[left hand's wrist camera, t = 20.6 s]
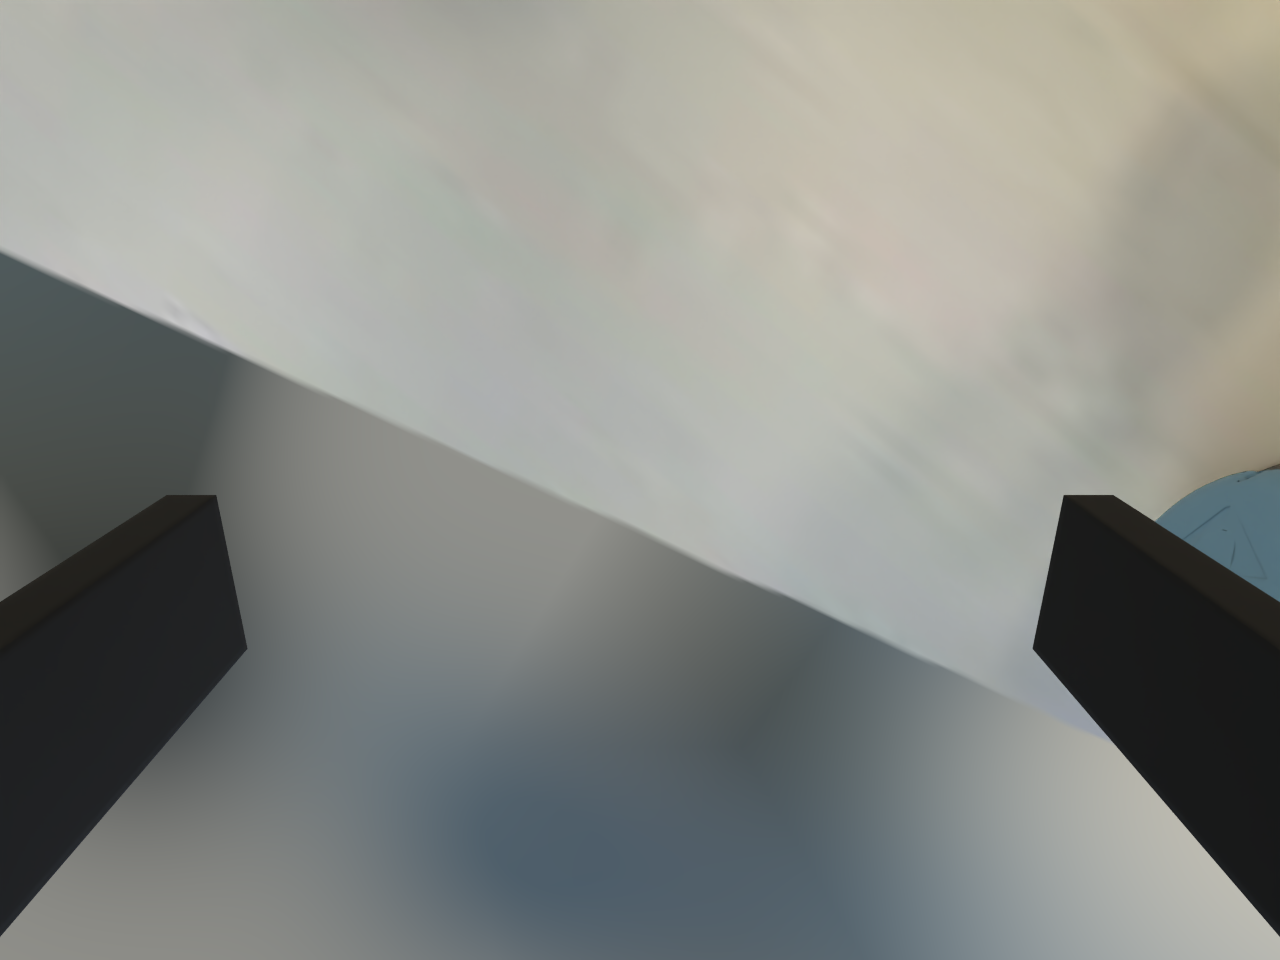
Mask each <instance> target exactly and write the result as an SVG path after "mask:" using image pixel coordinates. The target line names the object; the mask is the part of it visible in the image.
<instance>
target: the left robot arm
mask: <svg viewBox="0 0 1280 960" xmlns="http://www.w3.org/2000/svg"><path fill="white" fill-rule="evenodd" d="M246 650H247V645H246V640H245V635H244V630H243V625H242V620H241V615H240V610H239V605H238V600H237V595H236V590H235V586H234V581H233V576H232V571H231V566H230V561H229V556H228V551H227V546H226V541H225V536H224V531H223V526H222V521H221V517H220V512H219V507H218V502H217V497H216V495H166V496H165V497H163V498H162V499H160V500H158V501H157V502H155V503H154V504H152V505H151V506H149V507H148V508H146V509H144V510H143V511H141V512H140V513H138V514H137V515H135V516H133V517H132V518H130V519H129V520H127V521H126V522H124V523H123V524H121V525H119V526H118V527H116V528H115V529H113V530H112V531H110V532H109V533H107V534H105V535H104V536H102V537H101V538H99V539H98V540H96V541H95V542H93V543H91V544H90V545H88V546H87V547H85V548H84V549H82V550H80V551H79V552H77V553H76V554H74V555H73V556H71V557H70V558H68V559H67V560H65V561H63V562H62V563H60V564H59V565H57V566H56V567H54V568H52V569H51V570H49V571H48V572H46V573H45V574H43V575H42V576H40V577H39V578H37V579H35V580H34V581H32V582H31V583H29V584H28V585H26V586H24V587H23V588H21V589H20V590H18V591H17V592H15V593H13V594H12V595H10V596H9V597H7V598H6V599H4V600H3V601H1V602H0V936H1V935H2V934H3V933H4V932H5V930H6V929H7V928H8V927H9V926H10V925H11V923H12V922H13V921H14V920H15V919H16V918H17V916H18V915H19V914H20V913H21V912H22V911H23V909H24V908H25V907H26V906H27V905H28V904H29V902H30V901H31V900H32V899H33V898H34V897H35V895H36V894H37V893H38V892H39V891H40V890H41V889H42V887H43V886H44V885H45V884H46V883H47V881H48V880H49V879H50V878H51V877H52V876H53V875H54V873H55V872H56V871H57V870H58V869H59V868H60V866H61V865H62V864H63V863H64V862H65V861H66V859H67V858H68V857H69V856H70V855H71V854H72V852H73V851H74V850H75V849H76V848H77V847H78V845H79V844H80V843H81V842H82V841H83V840H84V838H85V837H86V836H87V835H88V834H89V833H90V831H91V830H92V829H93V828H94V827H95V826H96V824H97V823H98V822H99V821H100V820H101V819H102V817H103V816H104V815H105V814H106V813H107V812H108V810H109V809H110V808H111V807H112V806H113V805H114V803H115V802H116V801H117V800H118V799H119V798H120V796H121V795H122V794H123V793H124V792H125V791H126V789H127V788H128V787H129V786H130V785H131V784H132V782H133V781H134V780H135V779H136V778H137V777H138V776H139V774H140V773H141V772H142V771H143V770H144V769H145V767H146V766H147V765H148V764H149V763H150V761H151V760H152V759H153V758H154V757H155V756H156V754H157V753H158V752H159V751H160V750H161V749H162V748H163V746H164V745H165V744H166V743H167V742H168V741H169V739H170V738H171V737H172V736H173V735H174V734H175V732H176V731H177V730H178V729H179V728H180V727H181V725H182V724H183V723H184V722H185V721H186V720H187V718H188V717H189V716H190V715H191V714H192V713H193V711H194V710H195V709H196V708H197V707H198V706H199V704H200V703H201V702H202V701H203V700H204V699H205V697H206V696H207V695H208V694H209V693H210V692H211V690H212V689H213V688H214V687H215V686H216V685H217V683H218V682H219V681H220V680H221V679H222V678H223V676H224V675H225V674H226V673H227V672H228V671H229V669H230V668H231V667H232V666H233V665H234V664H235V663H236V661H237V660H238V659H239V658H240V657H241V656H242V654H243V653H244V652H245V651H246ZM1033 650H1034V651H1035V652H1036V653H1037V654H1038V656H1039V657H1040V658H1041V659H1042V660H1043V661H1044V663H1045V664H1046V665H1047V666H1048V667H1049V668H1050V670H1051V671H1052V672H1053V673H1054V674H1055V675H1056V676H1057V678H1058V679H1059V680H1060V681H1061V682H1062V683H1063V685H1064V686H1065V687H1066V688H1067V689H1068V690H1069V692H1070V693H1071V694H1072V695H1073V696H1074V697H1075V699H1076V700H1077V701H1078V702H1079V703H1080V704H1081V706H1082V707H1083V708H1084V709H1085V710H1086V711H1087V713H1088V714H1089V715H1090V716H1091V717H1092V718H1093V720H1094V721H1095V722H1096V723H1097V724H1098V725H1099V727H1100V728H1101V729H1102V730H1103V731H1104V732H1105V734H1106V735H1107V736H1108V737H1109V738H1110V739H1111V741H1112V742H1113V743H1114V744H1115V745H1116V746H1117V748H1118V749H1119V750H1120V751H1121V752H1122V753H1123V755H1124V756H1125V757H1126V758H1127V759H1128V760H1129V762H1130V763H1131V764H1132V765H1133V766H1134V767H1135V768H1136V770H1137V771H1138V772H1139V773H1140V774H1141V776H1142V777H1143V778H1144V779H1145V780H1146V781H1147V782H1148V784H1149V785H1150V786H1151V787H1152V788H1153V789H1154V791H1155V792H1156V793H1157V794H1158V795H1159V796H1160V798H1161V799H1162V800H1163V801H1164V802H1165V803H1166V805H1167V806H1168V807H1169V808H1170V809H1171V810H1172V812H1173V813H1174V814H1175V815H1176V816H1177V817H1178V819H1179V820H1180V821H1181V822H1182V823H1183V824H1184V826H1185V827H1186V828H1187V829H1188V830H1189V831H1190V833H1191V834H1192V835H1193V836H1194V837H1195V838H1196V840H1197V841H1198V842H1199V843H1200V844H1201V845H1202V847H1203V848H1204V849H1205V850H1206V851H1207V852H1208V854H1209V855H1210V856H1211V857H1212V858H1213V859H1214V861H1215V862H1216V863H1217V864H1218V865H1219V866H1220V867H1221V869H1222V870H1223V871H1224V872H1225V873H1226V875H1227V876H1228V877H1229V878H1230V879H1231V880H1232V882H1233V883H1234V884H1235V885H1236V886H1237V887H1238V889H1239V890H1240V891H1241V892H1242V893H1243V894H1244V895H1245V897H1246V898H1247V899H1248V900H1249V901H1250V902H1251V904H1252V905H1253V906H1254V907H1255V908H1256V909H1257V911H1258V912H1259V913H1260V914H1261V915H1262V916H1263V918H1264V919H1265V920H1266V921H1267V922H1268V923H1269V925H1270V926H1271V927H1272V928H1273V929H1274V930H1275V932H1276V933H1277V934H1278V935H1279V936H1280V602H1279V601H1277V600H1276V599H1274V598H1273V597H1271V596H1270V595H1268V594H1267V593H1265V592H1263V591H1262V590H1260V589H1259V588H1257V587H1256V586H1254V585H1252V584H1251V583H1249V582H1248V581H1246V580H1245V579H1243V578H1242V577H1240V576H1238V575H1237V574H1235V573H1234V572H1232V571H1231V570H1229V569H1228V568H1226V567H1224V566H1223V565H1221V564H1220V563H1218V562H1217V561H1215V560H1214V559H1212V558H1210V557H1209V556H1207V555H1206V554H1204V553H1203V552H1201V551H1200V550H1198V549H1196V548H1195V547H1193V546H1192V545H1190V544H1189V543H1187V542H1186V541H1184V540H1182V539H1181V538H1179V537H1178V536H1176V535H1175V534H1173V533H1171V532H1170V531H1168V530H1167V529H1165V528H1164V527H1162V526H1161V525H1159V524H1157V523H1156V522H1154V521H1153V520H1151V519H1150V518H1148V517H1147V516H1145V515H1143V514H1142V513H1140V512H1139V511H1137V510H1136V509H1134V508H1133V507H1131V506H1129V505H1128V504H1126V503H1125V502H1123V501H1122V500H1120V499H1119V498H1117V497H1115V496H1114V495H1064V497H1063V502H1062V507H1061V512H1060V517H1059V521H1058V526H1057V531H1056V536H1055V541H1054V546H1053V551H1052V556H1051V561H1050V566H1049V571H1048V576H1047V581H1046V585H1045V590H1044V595H1043V600H1042V605H1041V610H1040V615H1039V620H1038V625H1037V630H1036V635H1035V640H1034V645H1033Z"/></svg>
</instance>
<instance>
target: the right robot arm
mask: <svg viewBox="0 0 1280 960" xmlns="http://www.w3.org/2000/svg"><path fill="white" fill-rule="evenodd" d="M1155 522H1156V523H1157V524H1159V525H1161V526H1162V527H1164V528H1165V529H1167V530H1168V531H1170V532H1171V533H1173V534H1175V535H1176V536H1178V537H1179V538H1181V539H1182V540H1184V541H1186V542H1187V543H1189V544H1190V545H1192V546H1193V547H1195V548H1196V549H1198V550H1200V551H1201V552H1203V553H1204V554H1206V555H1207V556H1209V557H1210V558H1212V559H1214V560H1215V561H1217V562H1218V563H1220V564H1221V565H1223V566H1224V567H1226V568H1228V569H1229V570H1231V571H1232V572H1234V573H1235V574H1237V575H1238V576H1240V577H1242V578H1243V579H1245V580H1246V581H1248V582H1249V583H1251V584H1252V585H1254V586H1256V587H1257V588H1259V589H1260V590H1262V591H1263V592H1265V593H1267V594H1268V595H1270V596H1271V597H1273V598H1274V599H1276V600H1277V601H1279V602H1280V464H1279V465H1276V466H1273V467H1270V468H1268V469H1265V470H1263V471H1259V472H1256V471H1245V472H1241V473H1237V474H1233V475H1230V476H1226V477H1223V478H1221V479H1218V480H1216V481H1214V482H1211V483H1209V484H1207V485H1205V486H1203V487H1201V488H1199V489H1197V490H1195V491H1194V492H1192V493H1190V494H1189V495H1187V496H1186V497H1184V498H1183V499H1181V500H1180V501H1178V502H1177V503H1176V504H1174V505H1173V506H1172V507H1171V508H1170V509H1168V510H1167V511H1166V512H1165V513H1164V514H1163V515H1162V516H1160V517H1159V518H1158V519H1157V520H1156V521H1155Z"/></svg>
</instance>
